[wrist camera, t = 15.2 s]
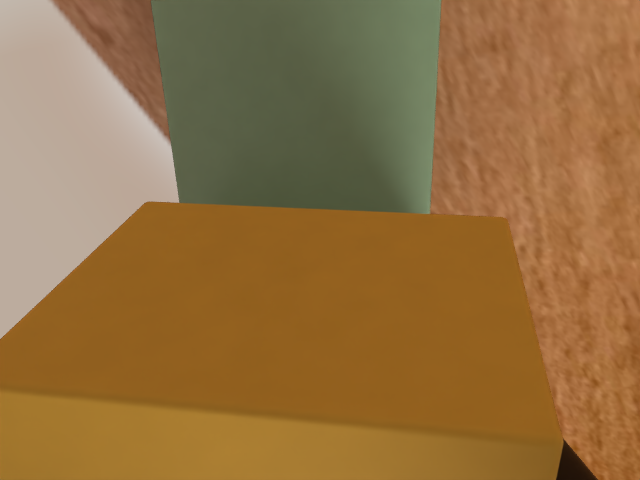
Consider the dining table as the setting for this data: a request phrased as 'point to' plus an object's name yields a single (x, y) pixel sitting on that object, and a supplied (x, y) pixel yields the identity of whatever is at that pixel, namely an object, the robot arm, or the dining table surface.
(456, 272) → the yellow toy cube
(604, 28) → the dining table surface
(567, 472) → the robot arm
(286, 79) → the chair
